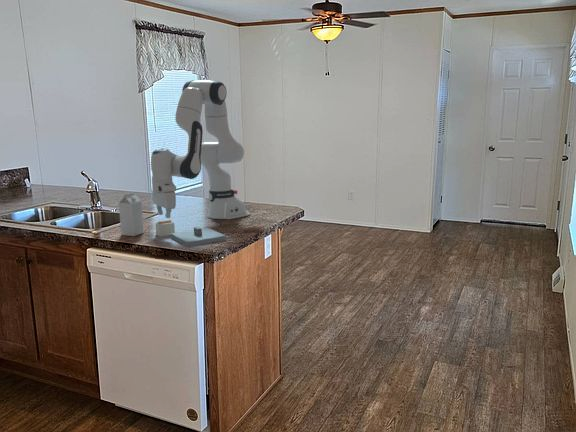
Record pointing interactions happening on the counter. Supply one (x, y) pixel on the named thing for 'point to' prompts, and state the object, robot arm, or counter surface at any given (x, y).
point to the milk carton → (131, 215)
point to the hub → (198, 236)
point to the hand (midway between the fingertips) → (164, 216)
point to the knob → (165, 228)
